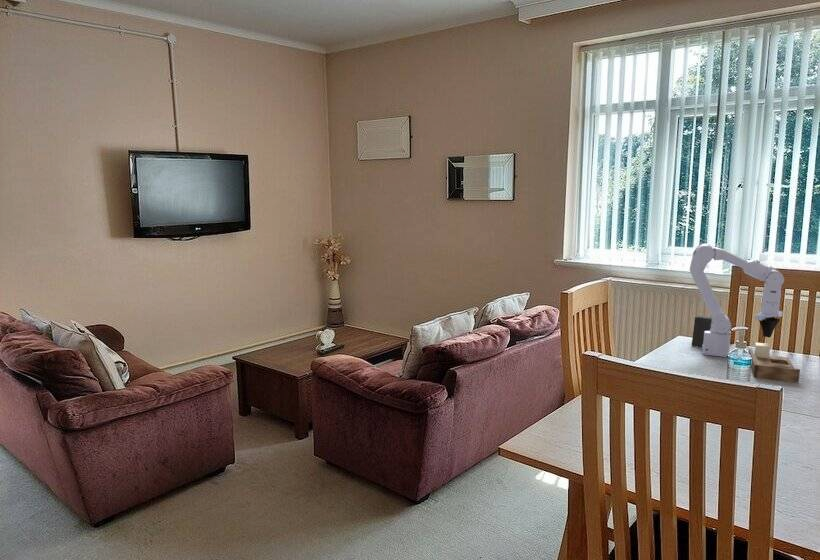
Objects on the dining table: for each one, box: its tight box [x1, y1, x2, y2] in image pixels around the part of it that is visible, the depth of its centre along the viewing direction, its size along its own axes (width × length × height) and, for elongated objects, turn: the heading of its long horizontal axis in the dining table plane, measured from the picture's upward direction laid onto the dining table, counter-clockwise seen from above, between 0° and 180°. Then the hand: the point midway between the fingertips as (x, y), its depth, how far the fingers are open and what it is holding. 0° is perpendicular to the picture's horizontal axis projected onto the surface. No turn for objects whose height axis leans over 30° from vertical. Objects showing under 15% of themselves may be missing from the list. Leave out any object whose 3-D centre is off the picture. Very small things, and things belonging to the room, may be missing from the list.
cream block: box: [754, 342, 771, 358], centre depth 216 cm, size 4×4×4 cm
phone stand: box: [691, 315, 712, 348], centre depth 238 cm, size 9×6×12 cm, turn 145°
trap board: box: [747, 347, 801, 383], centre depth 206 cm, size 13×25×4 cm, turn 154°
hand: (766, 336), depth 218 cm, fingers closed
